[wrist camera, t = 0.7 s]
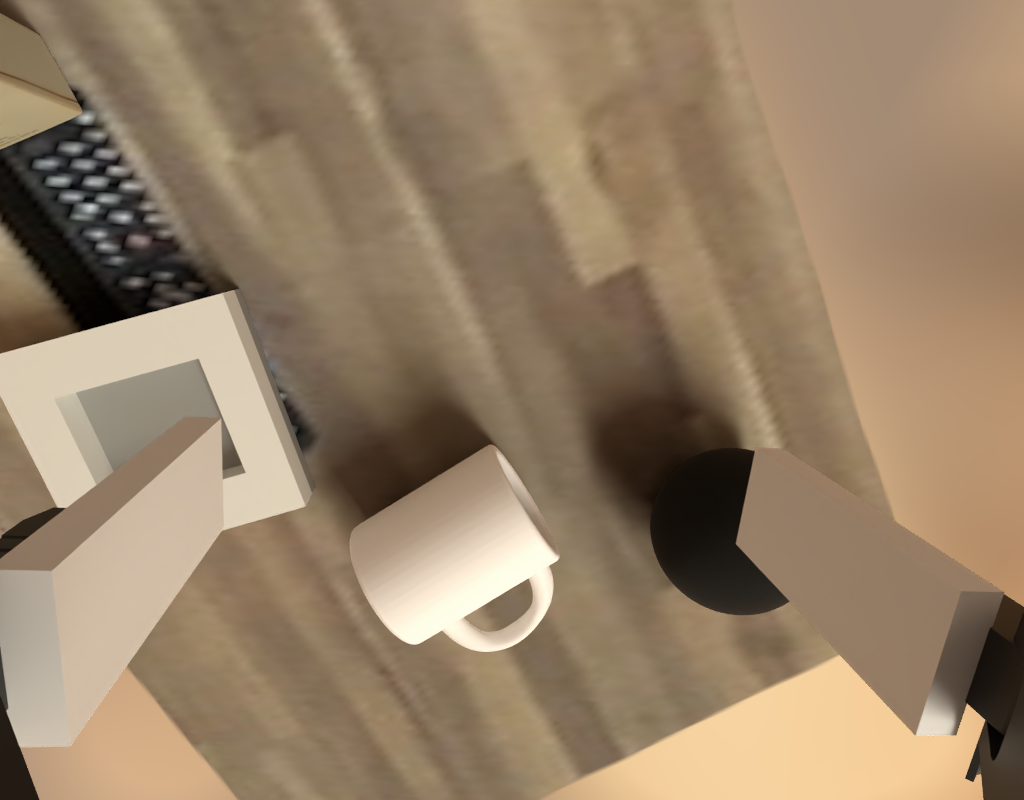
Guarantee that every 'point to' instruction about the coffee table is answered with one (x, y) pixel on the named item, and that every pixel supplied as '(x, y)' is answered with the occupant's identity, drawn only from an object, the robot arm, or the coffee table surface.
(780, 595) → the decorative ball
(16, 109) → the skincare box
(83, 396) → the socket block
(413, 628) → the mug
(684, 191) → the coffee table surface
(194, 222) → the coffee table surface
